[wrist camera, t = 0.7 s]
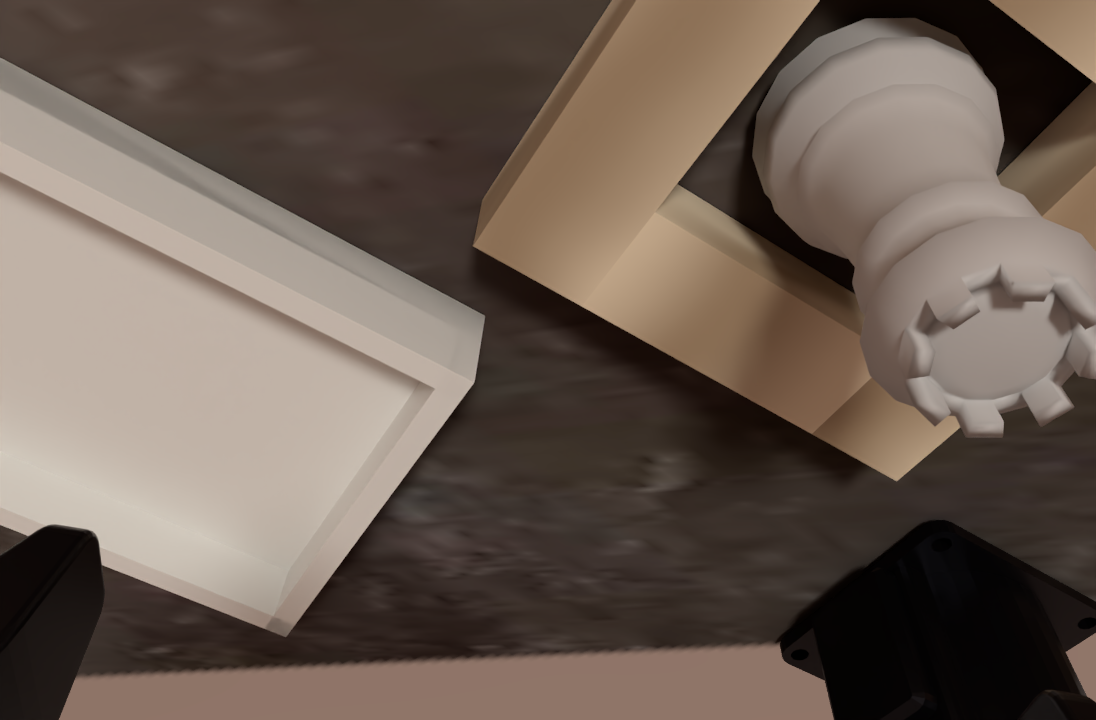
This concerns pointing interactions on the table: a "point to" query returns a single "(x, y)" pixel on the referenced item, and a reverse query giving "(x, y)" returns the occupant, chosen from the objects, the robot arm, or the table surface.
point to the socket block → (717, 239)
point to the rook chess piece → (928, 224)
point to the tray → (201, 364)
